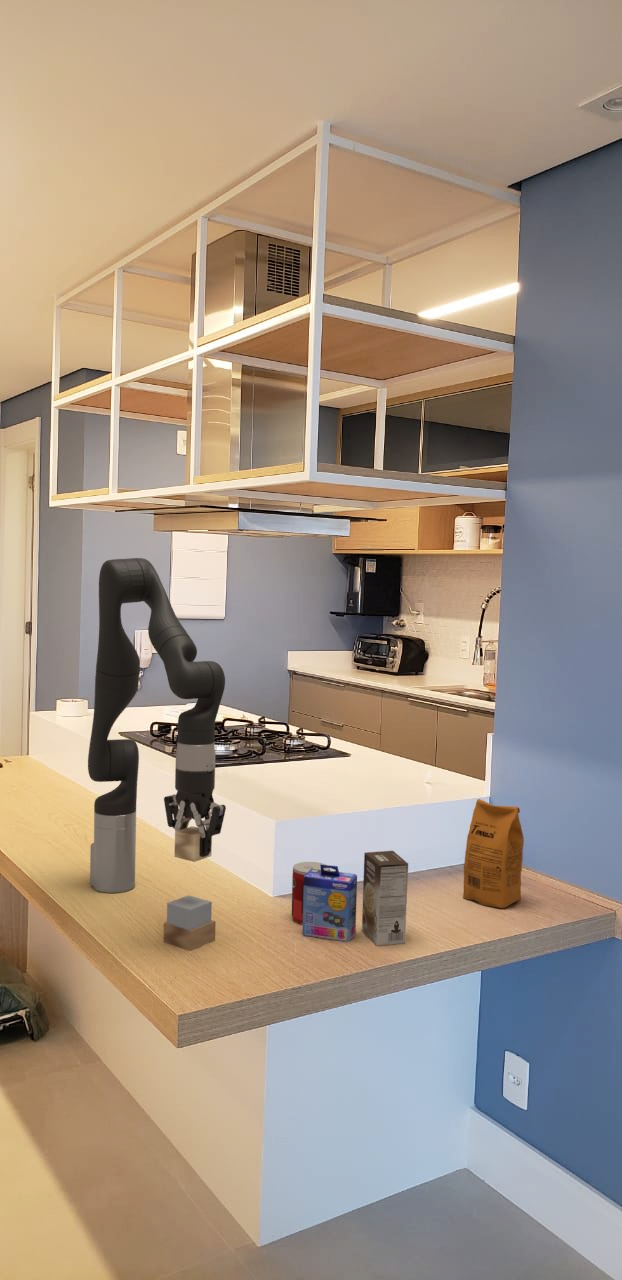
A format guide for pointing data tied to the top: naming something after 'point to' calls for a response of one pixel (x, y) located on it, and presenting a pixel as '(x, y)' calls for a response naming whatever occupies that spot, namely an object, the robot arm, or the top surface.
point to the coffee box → (384, 897)
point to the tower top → (189, 912)
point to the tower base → (189, 936)
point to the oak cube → (189, 844)
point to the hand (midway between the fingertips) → (193, 852)
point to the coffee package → (494, 856)
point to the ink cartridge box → (329, 904)
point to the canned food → (300, 887)
